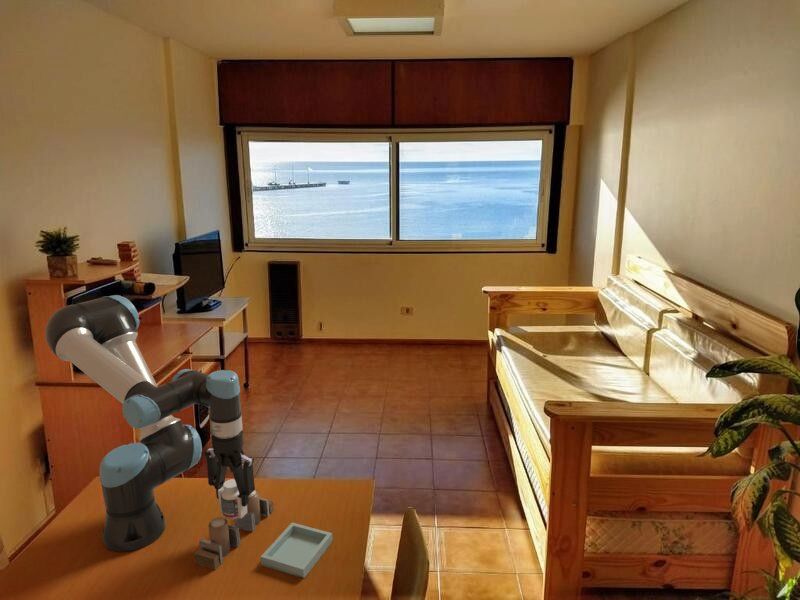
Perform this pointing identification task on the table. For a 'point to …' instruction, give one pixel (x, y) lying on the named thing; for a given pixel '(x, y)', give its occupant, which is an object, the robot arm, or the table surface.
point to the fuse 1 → (220, 534)
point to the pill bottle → (230, 499)
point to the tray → (297, 550)
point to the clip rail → (230, 537)
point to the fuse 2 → (254, 506)
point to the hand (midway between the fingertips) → (233, 512)
